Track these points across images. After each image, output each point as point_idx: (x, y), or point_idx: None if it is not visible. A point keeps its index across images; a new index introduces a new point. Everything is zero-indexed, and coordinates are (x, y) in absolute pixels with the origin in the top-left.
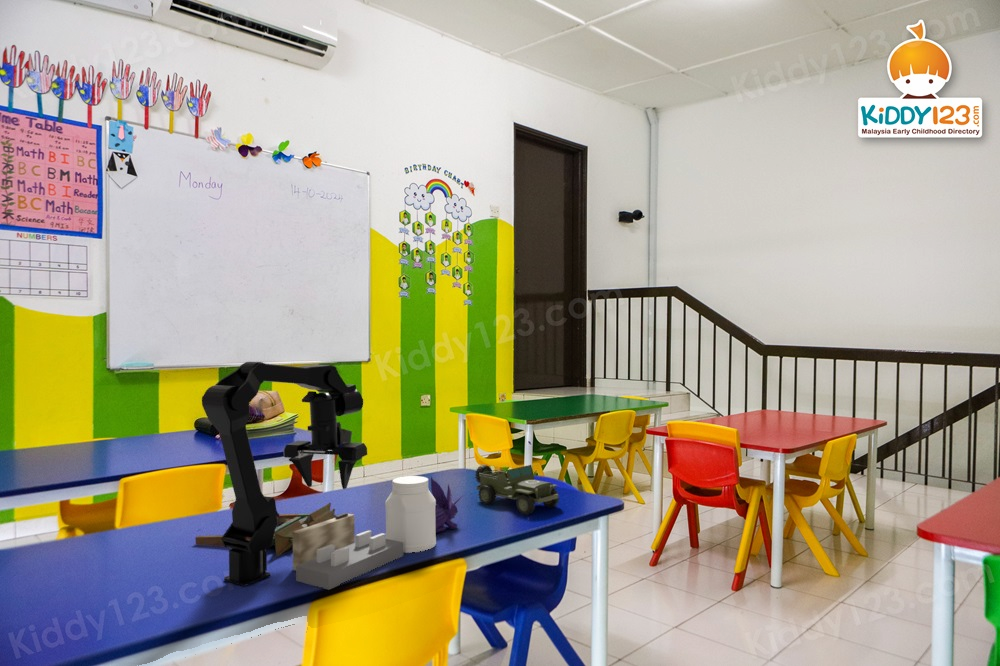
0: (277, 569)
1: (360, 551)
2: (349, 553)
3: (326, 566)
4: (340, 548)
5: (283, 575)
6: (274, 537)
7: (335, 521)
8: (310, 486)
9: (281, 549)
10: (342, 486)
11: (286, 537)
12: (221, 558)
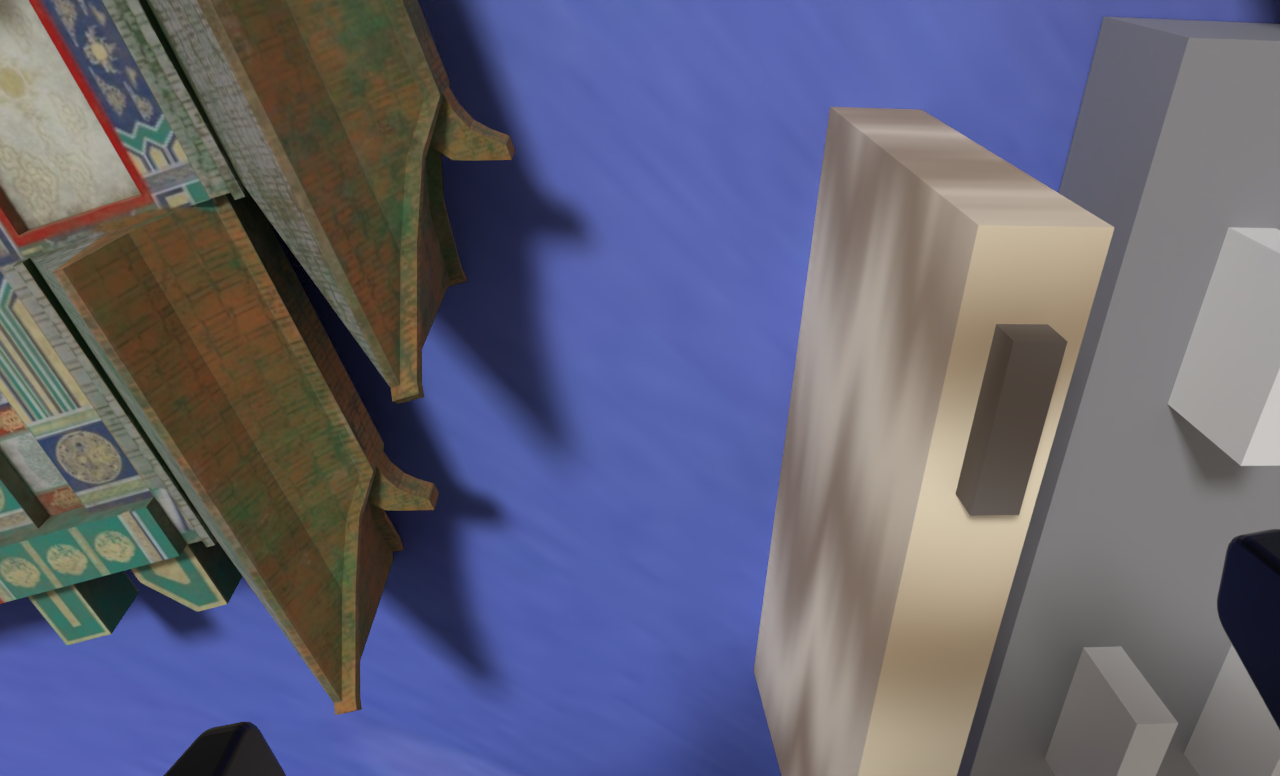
0: (648, 709)
1: (1271, 469)
2: (1196, 543)
3: (1158, 772)
4: (1053, 497)
5: (770, 746)
6: (188, 548)
7: (1016, 557)
8: (268, 748)
9: (378, 539)
10: (1267, 686)
11: (348, 544)
12: (82, 766)
